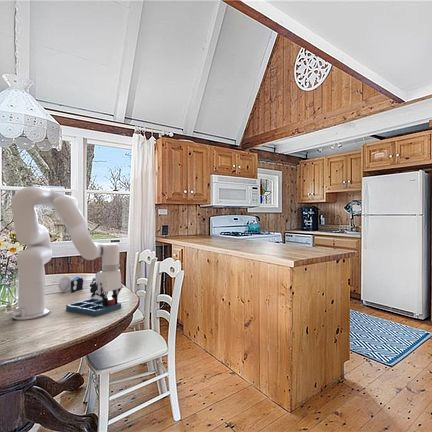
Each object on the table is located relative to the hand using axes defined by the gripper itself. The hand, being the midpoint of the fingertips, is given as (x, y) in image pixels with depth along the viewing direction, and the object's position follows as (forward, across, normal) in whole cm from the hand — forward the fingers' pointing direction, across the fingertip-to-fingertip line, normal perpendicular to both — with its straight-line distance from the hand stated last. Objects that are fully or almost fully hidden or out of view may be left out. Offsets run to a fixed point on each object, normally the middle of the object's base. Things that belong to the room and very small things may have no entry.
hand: (109, 303), depth 152 cm
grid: (+3, +3, -7) cm, 8 cm away
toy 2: (+3, -19, -32) cm, 37 cm away
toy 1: (+3, -16, -52) cm, 54 cm away
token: (0, 0, 0) cm, 0 cm away
